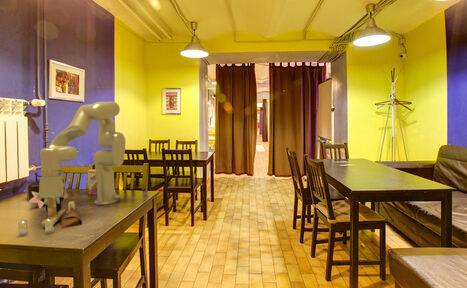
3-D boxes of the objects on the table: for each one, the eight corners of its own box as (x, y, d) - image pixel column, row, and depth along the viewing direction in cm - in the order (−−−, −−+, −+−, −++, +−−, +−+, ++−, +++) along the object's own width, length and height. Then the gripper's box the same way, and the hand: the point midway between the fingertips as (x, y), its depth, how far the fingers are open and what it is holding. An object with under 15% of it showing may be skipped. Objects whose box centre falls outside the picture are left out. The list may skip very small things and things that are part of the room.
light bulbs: (76, 211, 143) (75, 200, 143) (51, 233, 115) (50, 220, 114) (49, 213, 140) (48, 202, 140) (17, 236, 112) (16, 223, 112)
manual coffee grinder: (28, 201, 162) (26, 172, 160) (26, 198, 170) (24, 170, 168) (58, 196, 172) (56, 169, 171) (55, 193, 180) (53, 167, 179)
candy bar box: (87, 195, 176) (86, 170, 175) (92, 193, 181) (90, 169, 180) (104, 195, 175) (102, 170, 174) (108, 193, 180) (106, 169, 179)
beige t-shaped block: (66, 213, 136) (64, 190, 135) (51, 226, 121) (49, 200, 119) (57, 213, 136) (55, 191, 134) (41, 227, 120) (39, 201, 119)
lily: (25, 212, 146) (30, 198, 144) (25, 199, 155) (31, 186, 153) (50, 214, 154) (56, 200, 152) (49, 201, 163) (55, 188, 161)
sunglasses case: (57, 217, 134) (65, 205, 136) (72, 221, 138) (79, 209, 140) (61, 229, 120) (69, 215, 122) (76, 233, 124) (84, 219, 126)
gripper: (73, 171, 131) (75, 207, 133) (36, 173, 128) (38, 210, 130) (67, 174, 124) (69, 212, 126) (27, 176, 121) (30, 215, 122)
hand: (53, 210), depth 128 cm, fingers closed on beige t-shaped block, 3 cm apart
